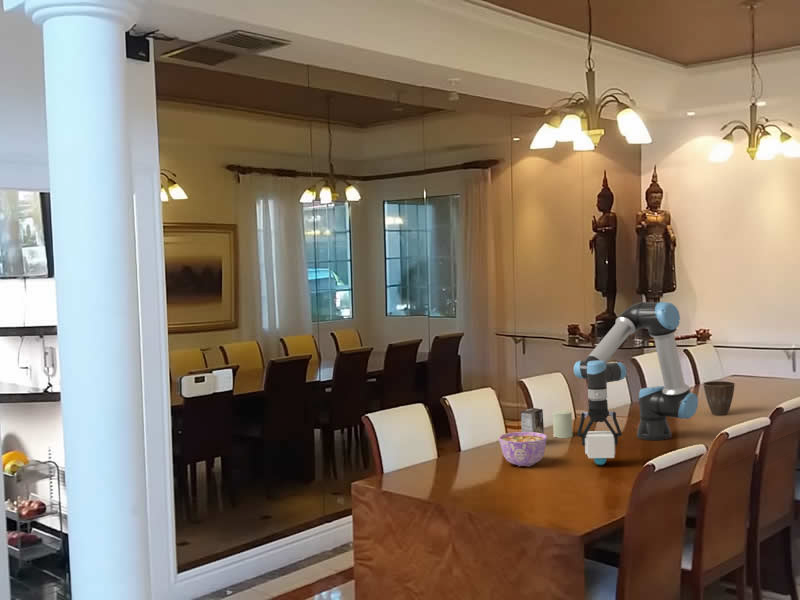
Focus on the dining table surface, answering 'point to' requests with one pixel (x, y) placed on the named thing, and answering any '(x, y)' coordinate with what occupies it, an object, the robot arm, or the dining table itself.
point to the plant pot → (719, 396)
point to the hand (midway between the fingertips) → (600, 453)
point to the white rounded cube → (600, 444)
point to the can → (562, 424)
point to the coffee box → (532, 420)
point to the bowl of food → (523, 447)
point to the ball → (600, 461)
